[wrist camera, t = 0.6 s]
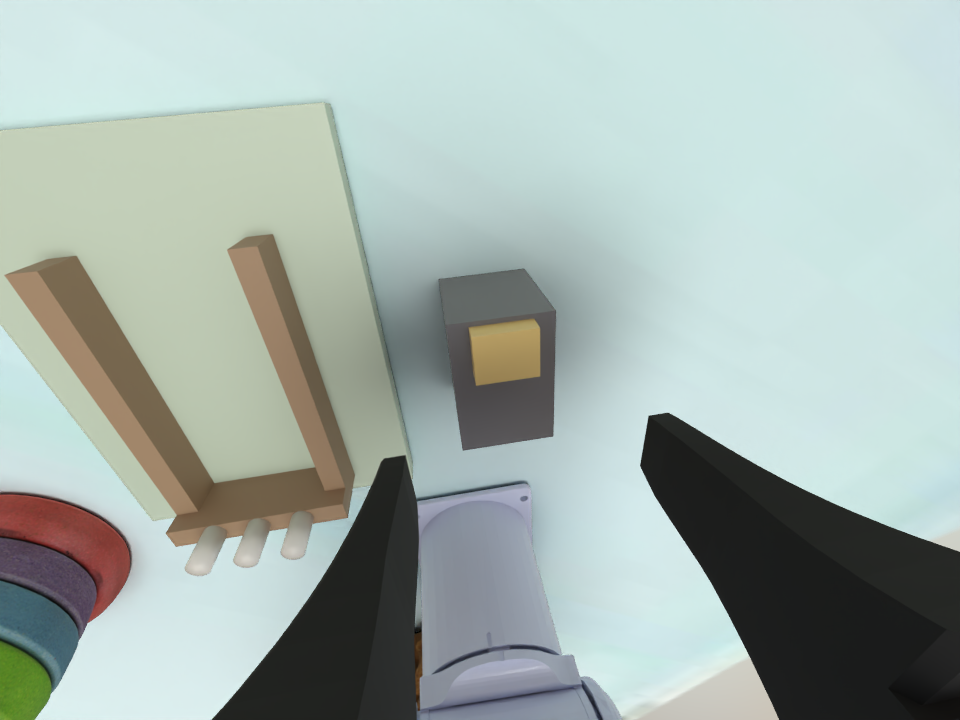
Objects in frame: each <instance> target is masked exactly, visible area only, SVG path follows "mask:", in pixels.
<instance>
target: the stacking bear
mask: <svg viewBox="0 0 960 720" xmlns="http://www.w3.org/2000/svg"><path fill="white" fill-rule="evenodd" d="M129 570H130V556H129V551H128V548H127V545H126V543H125V542H124V540H123V539H122V537H121V536H120V535H119V534H118V533H117V532H116V531H115V530H114V529H113V528H112V527H111V526H109V525H108V524H107V523H105V522H104V521H102V520H101V519H99V518H98V517H96V516H94V515H92V514H90V513H88V512H86V511H84V510H81V509H79V508H76V507H74V506H71V505H68V504H65V503H61V502H58V501H54V500H50V499H45V498H40V497H33V496H25V495H0V720H35V718H36V717H37V716H38V714H39V713H40V712H41V710H42V709H43V708H44V706H45V705H46V704H47V702H48V700H49V698H50V694H51V693H52V692H53V691H54V690H55V688H56V687H57V686H58V684H59V682H60V681H61V679H62V677H63V675H64V673H65V671H66V669H67V667H68V665H69V663H70V661H71V659H72V657H73V655H74V653H75V650H76V648H77V646H78V641H79V639H80V638H81V636H82V634H83V632H84V630H85V628H86V626H87V623H88V622H90V621H92V620H93V619H95V618H96V617H97V616H99V615H100V614H101V613H102V612H103V611H104V610H105V609H106V608H107V607H108V606H109V605H110V604H111V603H112V602H113V600H114V599H115V598H116V596H117V595H118V594H119V592H120V591H121V589H122V588H123V586H124V584H125V582H126V580H127V577H128V574H129Z"/></svg>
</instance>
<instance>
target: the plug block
mask: <svg viewBox="0 0 960 720" xmlns="http://www.w3.org/2000/svg"><path fill="white" fill-rule="evenodd" d="M439 285H440V293H441V300H442V307H443V314H444V322H445V329H446V336H447V343H448V351H449V358H450V365H451V373H452V380H453V387H454V394H455V401H456V408H457V414H458V421H459V428H460V435H461V442H462V449H463V450H469V449H476V448H482V447H488V446H495V445H501V444H508V443H514V442H520V441H527V440H533V439H539V438H546V437H552V436H553V425H554V376H555V327H556V310H555V309H554V307H553V306H552V305H551V304H550V302H549V301H548V300H547V298H546V297H545V296H544V294H543V293H542V292H541V290H540V289H539V288H538V286H537V285H536V284H535V282H534V281H533V280H532V278H531V277H530V276H529V274H528V273H527V272H526V270H525V269H517V270H509V271H501V272H493V273H485V274H477V275H469V276H461V277H453V278H445V279H439Z"/></svg>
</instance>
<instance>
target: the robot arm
mask: <svg viewBox="0 0 960 720" xmlns="http://www.w3.org/2000/svg"><path fill="white" fill-rule="evenodd" d="M640 466H641V469H642V471H643V473H644V475H645V477H646V479H647V481H648V483H649V485H650V487H651V489H652V491H653V493H654V495H655V497H656V499H657V500H658V502H659V503H660V505H661V506H662V508H663V509H664V511H665V513H666V514H667V516H668V517H669V519H670V520H671V522H672V523H673V525H674V526H675V528H676V529H677V531H678V532H679V534H680V535H681V537H682V538H683V540H684V541H685V543H686V544H687V546H688V547H689V549H690V550H691V552H692V553H693V555H694V556H695V558H696V559H697V561H698V562H699V564H700V565H701V567H702V569H703V570H704V572H705V574H706V575H707V577H708V578H709V580H710V582H711V583H712V585H713V587H714V589H715V591H716V593H717V594H718V596H719V598H720V600H721V602H722V604H723V606H724V607H725V609H726V611H727V613H728V615H729V617H730V619H731V621H732V623H733V625H734V627H735V628H736V630H737V632H738V634H739V636H740V638H741V640H742V642H743V644H744V646H745V648H746V650H747V652H748V654H749V656H750V658H751V660H752V662H753V664H754V666H755V668H756V671H757V673H758V675H759V677H760V679H761V681H762V683H763V685H764V688H765V690H766V692H767V694H768V696H769V698H770V700H771V702H772V704H773V707H774V709H775V711H776V713H777V716H778V718H779V720H960V552H958V551H955V550H953V549H950V548H947V547H944V546H941V545H938V544H935V543H933V542H930V541H927V540H924V539H921V538H918V537H916V536H913V535H910V534H907V533H905V532H902V531H899V530H897V529H894V528H891V527H889V526H886V525H884V524H881V523H879V522H876V521H874V520H872V519H869V518H867V517H864V516H862V515H859V514H857V513H854V512H852V511H850V510H847V509H845V508H843V507H840V506H838V505H836V504H833V503H831V502H829V501H827V500H825V499H823V498H821V497H818V496H816V495H814V494H812V493H810V492H808V491H806V490H804V489H801V488H799V487H797V486H795V485H793V484H791V483H789V482H787V481H786V480H784V479H782V478H780V477H778V476H776V475H774V474H772V473H771V472H769V471H767V470H765V469H763V468H761V467H759V466H758V465H756V464H754V463H752V462H751V461H749V460H747V459H745V458H743V457H742V456H740V455H738V454H737V453H735V452H733V451H732V450H730V449H728V448H726V447H725V446H723V445H721V444H720V443H718V442H716V441H715V440H713V439H712V438H710V437H708V436H707V435H705V434H703V433H702V432H700V431H698V430H697V429H695V428H694V427H692V426H690V425H689V424H687V423H685V422H684V421H682V420H680V419H679V418H677V417H675V416H673V415H672V414H670V413H663V414H657V415H651V416H649V417H648V423H647V429H646V435H645V441H644V447H643V452H642V458H641V464H640ZM522 496H523V497H522ZM418 560H419V564H420V567H421V603H422V670H423V676H422V677H421V678H420V711H418V707H417V702H416V684H415V649H414V630H415V607H416V589H417V572H418ZM212 720H622V718H621V716H620V714H619V712H618V710H617V708H616V706H615V704H614V703H613V701H612V700H611V698H610V697H609V696H608V695H607V693H606V692H604V691H603V690H602V689H601V687H600V686H599V685H598V684H597V683H596V681H595V680H593V679H592V678H590V677H585V676H584V677H580V676H579V673H578V669H577V666H576V663H575V659H574V656H573V655H562V652H561V649H560V645H559V642H558V638H557V634H556V631H555V627H554V624H553V620H552V616H551V613H550V609H549V606H548V602H547V599H546V595H545V591H544V588H543V584H542V581H541V577H540V573H539V570H538V566H537V563H536V559H535V555H534V552H533V548H532V506H531V489H530V486H529V485H528V484H518V485H512V486H506V487H500V488H494V489H488V490H482V491H476V492H470V493H464V494H458V495H452V496H446V497H440V498H434V499H428V500H422V501H417V500H416V496H415V492H414V488H413V484H412V480H411V475H410V471H409V467H408V463H407V459H406V455H402V456H396V457H390V458H384V459H383V460H382V461H381V463H380V466H379V468H378V471H377V473H376V476H375V478H374V481H373V483H372V486H371V488H370V490H369V492H368V495H367V497H366V499H365V501H364V503H363V505H362V507H361V509H360V511H359V513H358V515H357V517H356V519H355V522H354V524H353V525H352V527H351V529H350V531H349V533H348V535H347V537H346V538H345V540H344V542H343V544H342V545H341V547H340V549H339V551H338V553H337V554H336V556H335V558H334V560H333V561H332V563H331V565H330V566H329V568H328V569H327V571H326V573H325V574H324V576H323V577H322V579H321V581H320V582H319V584H318V585H317V587H316V588H315V590H314V591H313V593H312V594H311V596H310V597H309V599H308V600H307V602H306V603H305V604H304V606H303V607H302V609H301V610H300V611H299V613H298V614H297V616H296V617H295V618H294V620H293V621H292V623H291V624H290V625H289V627H288V628H287V629H286V631H285V632H284V633H283V635H282V636H281V637H280V639H279V640H278V641H277V643H276V644H275V645H274V646H273V648H272V649H271V650H270V651H269V653H268V654H267V655H266V656H265V658H264V659H263V660H262V661H261V663H260V664H259V665H258V666H257V667H256V669H255V670H254V671H253V672H252V674H251V675H250V676H249V677H248V679H247V680H246V681H245V682H244V683H243V685H242V686H241V687H240V688H239V689H238V691H237V692H236V693H235V694H234V695H233V696H232V698H231V699H230V700H229V701H228V702H227V703H226V704H225V706H224V707H223V708H222V709H221V710H220V711H219V712H218V713H217V714H216V716H215V717H214V718H213V719H212Z"/></svg>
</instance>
